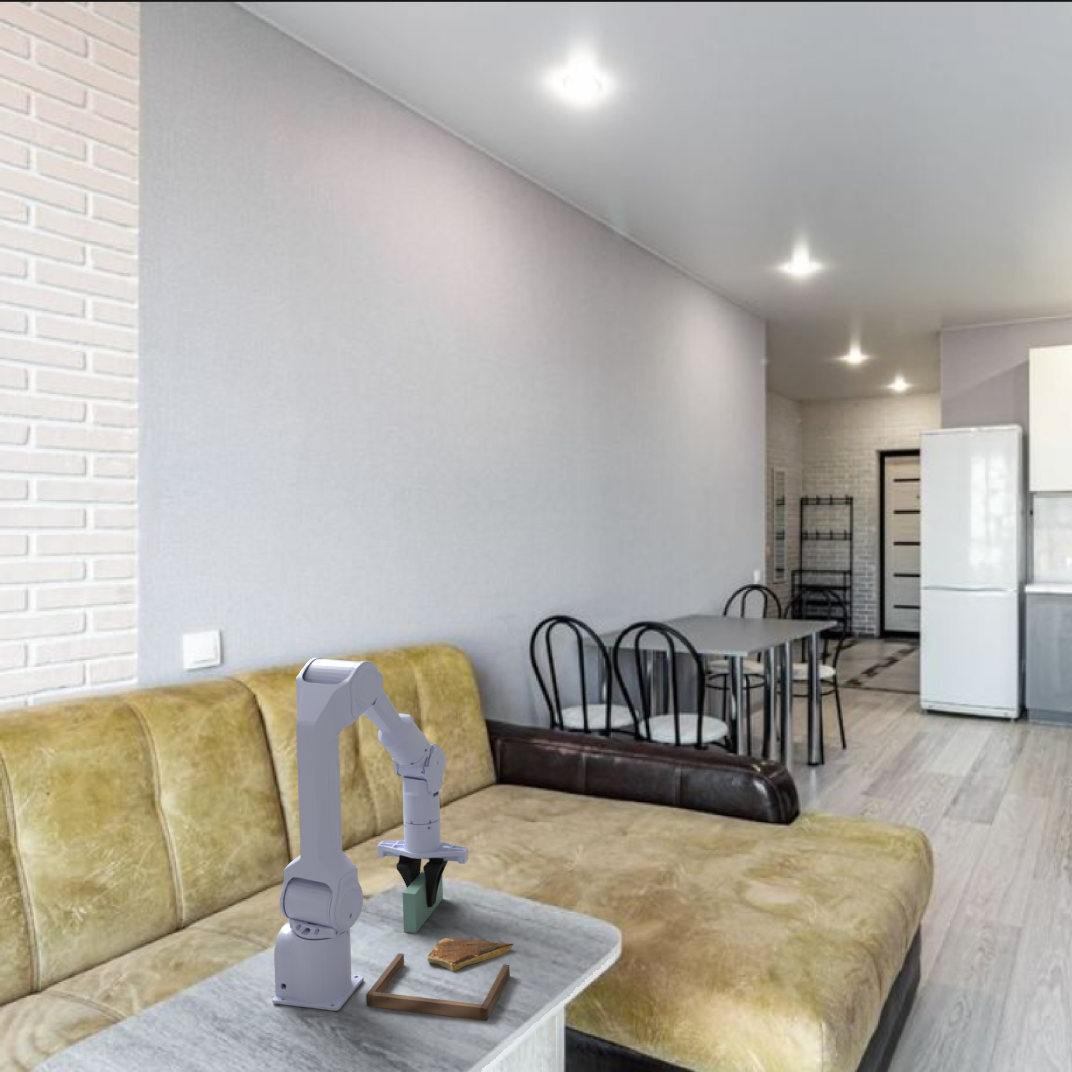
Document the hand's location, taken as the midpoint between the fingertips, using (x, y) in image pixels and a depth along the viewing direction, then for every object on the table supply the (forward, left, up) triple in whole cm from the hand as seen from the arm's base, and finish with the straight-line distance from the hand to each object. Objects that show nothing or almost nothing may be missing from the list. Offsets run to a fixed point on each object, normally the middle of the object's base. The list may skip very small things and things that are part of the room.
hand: (423, 903), depth 140 cm
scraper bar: (0, 0, -2) cm, 2 cm away
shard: (+10, -10, -2) cm, 14 cm away
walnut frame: (+10, -20, -2) cm, 22 cm away
